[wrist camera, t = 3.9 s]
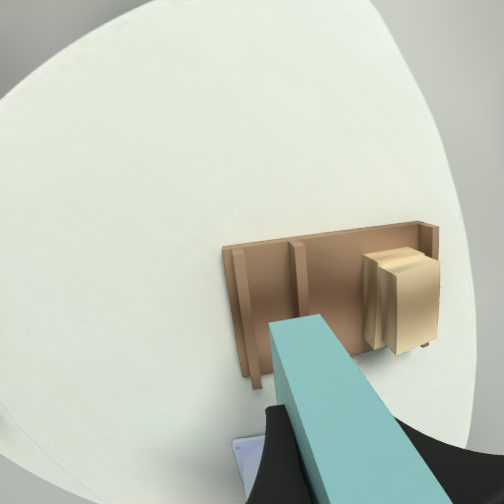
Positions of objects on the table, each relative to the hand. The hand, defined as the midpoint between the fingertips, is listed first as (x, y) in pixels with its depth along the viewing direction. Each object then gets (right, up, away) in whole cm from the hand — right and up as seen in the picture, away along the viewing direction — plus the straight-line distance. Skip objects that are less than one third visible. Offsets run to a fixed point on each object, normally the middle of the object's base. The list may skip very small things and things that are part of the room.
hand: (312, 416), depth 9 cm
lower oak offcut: (+7, +3, +10) cm, 12 cm away
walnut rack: (+3, +3, +10) cm, 11 cm away
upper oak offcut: (+7, +3, +8) cm, 11 cm away
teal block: (0, +1, +2) cm, 2 cm away
